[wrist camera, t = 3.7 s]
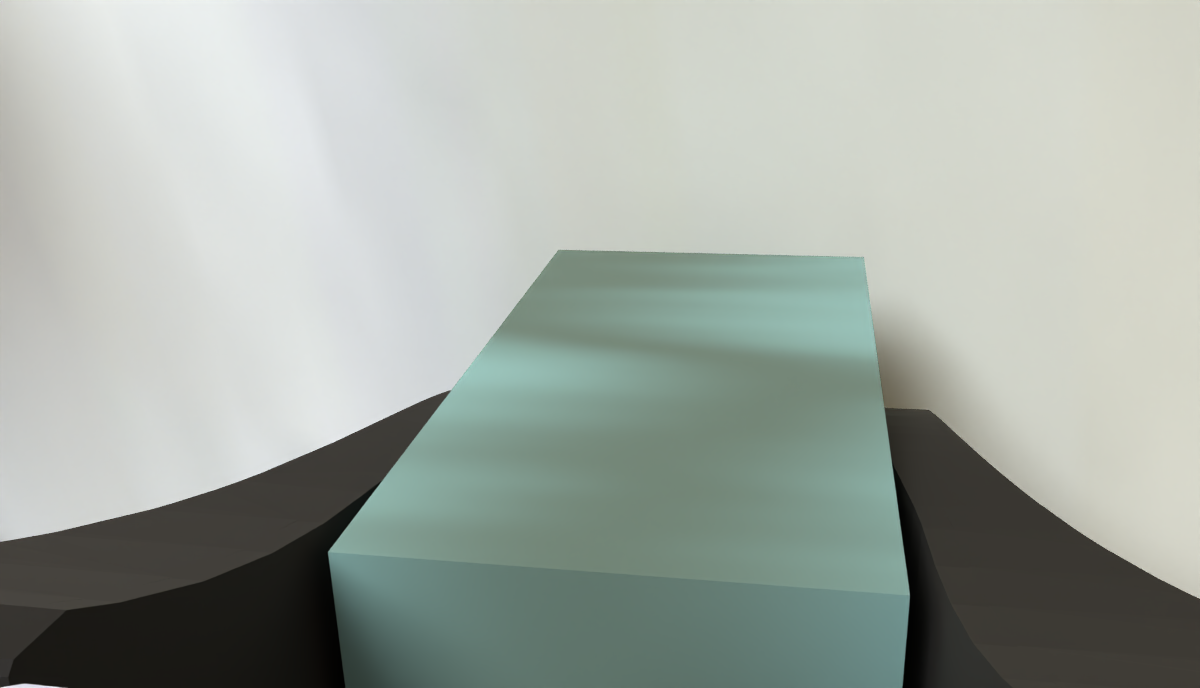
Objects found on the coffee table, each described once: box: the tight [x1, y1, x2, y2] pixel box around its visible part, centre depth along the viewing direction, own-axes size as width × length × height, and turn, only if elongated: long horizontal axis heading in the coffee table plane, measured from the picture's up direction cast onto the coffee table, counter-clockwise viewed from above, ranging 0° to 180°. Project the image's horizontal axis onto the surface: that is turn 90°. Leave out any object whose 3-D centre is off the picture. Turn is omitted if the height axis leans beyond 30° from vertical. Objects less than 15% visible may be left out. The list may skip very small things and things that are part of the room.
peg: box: [328, 250, 910, 688], centre depth 11 cm, size 4×4×7 cm
